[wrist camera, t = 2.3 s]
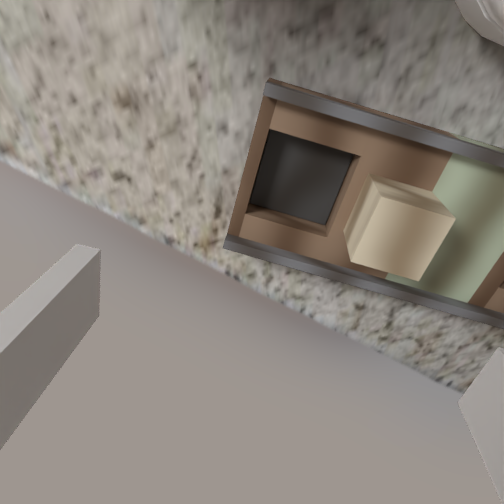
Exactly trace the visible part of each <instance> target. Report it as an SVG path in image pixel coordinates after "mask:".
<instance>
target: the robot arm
mask: <svg viewBox="0 0 504 504" xmlns="http://www.w3.org/2000/svg"><path fill="white" fill-rule="evenodd" d="M100 257H101V250H100V249H96V248H93V247H88V246H84V245H80V244H76V245H75V246H74V247H73V248H72V249H71V250H70V251H68V252H67V253H66V254H65V255H64V256H63V257H62V258H61V259H60V260H58V261H57V262H56V263H55V264H54V265H53V266H52V267H51V268H50V269H48V270H47V271H46V272H45V273H44V274H43V275H42V276H41V277H40V278H39V279H37V281H35V282H34V283H33V284H32V285H31V286H30V287H28V288H27V289H26V290H25V291H24V292H23V293H22V294H21V295H20V296H18V297H17V298H16V299H15V300H14V301H13V302H12V303H11V304H10V305H8V306H7V307H6V308H5V309H4V310H3V311H2V312H1V313H0V450H1V448H2V447H3V446H4V444H5V443H6V442H7V440H8V439H9V438H10V436H11V435H12V434H13V432H14V431H15V429H16V428H17V427H18V425H19V424H20V423H21V421H22V420H23V419H24V417H25V416H26V415H27V413H28V412H29V410H30V409H31V408H32V406H33V405H34V404H35V402H36V401H37V400H38V398H39V397H40V395H41V394H42V393H43V391H44V390H45V389H46V387H47V386H48V385H49V383H50V382H51V381H52V379H53V378H54V376H55V375H56V374H57V372H58V371H59V370H60V368H61V367H62V366H63V364H64V363H65V361H66V360H67V359H68V357H69V356H70V355H71V353H72V352H73V351H74V349H75V348H76V347H77V345H78V344H79V342H80V341H81V340H82V338H83V337H84V336H85V334H86V333H87V331H88V330H89V329H90V327H91V326H92V325H93V323H94V322H95V321H96V319H97V318H98V317H99V302H100V299H99V298H100ZM458 405H459V407H460V410H461V412H462V414H463V416H464V419H465V421H466V423H467V426H468V428H469V430H470V433H471V435H472V437H473V439H474V442H475V444H476V446H477V448H478V451H479V453H480V455H481V457H482V459H483V462H484V464H485V466H486V469H487V471H488V473H489V475H490V478H491V480H492V482H493V484H494V487H495V489H496V491H497V494H498V496H499V498H500V500H501V503H502V504H504V348H500V347H498V348H497V350H496V351H495V352H494V354H493V355H492V356H491V358H490V359H489V361H488V362H487V363H486V365H485V366H484V367H483V369H482V370H481V371H480V373H479V374H478V376H477V377H476V378H475V380H474V381H473V382H472V384H471V385H470V386H469V388H468V389H467V390H466V392H465V393H464V395H463V396H462V397H461V399H460V400H459V401H458Z"/></svg>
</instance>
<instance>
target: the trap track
mask: <svg viewBox="0 0 504 504" xmlns="http://www.w3.org/2000/svg"><path fill="white" fill-rule="evenodd" d="M263 95H264V96H263V100H262V103H261V107H260V111H259V115H258V119H257V122H256V126H255V130H254V134H253V138H252V141H251V145H250V149H249V153H248V157H247V160H246V164H245V168H244V172H243V176H242V180H241V183H240V187H239V191H238V195H237V199H236V202H235V206H234V210H233V214H232V218H231V221H230V225H229V229H228V233H227V236H226V238H225V242H224V245H223V248H224V249H227V250H231V251H234V252H238V253H241V254H245V255H248V256H252V257H255V258H259V259H262V260H266V261H269V262H273V263H276V264H280V265H283V266H286V267H290V268H293V269H297V270H300V271H304V272H307V273H311V274H314V275H318V276H321V277H325V278H328V279H332V280H335V281H339V282H342V283H346V284H349V285H353V286H356V287H360V288H363V289H367V290H370V291H374V292H377V293H380V294H384V295H387V296H391V297H394V298H398V299H401V300H405V301H408V302H412V303H415V304H419V305H422V306H426V307H429V308H433V309H436V310H440V311H443V312H447V313H450V314H454V315H457V316H461V317H464V318H468V319H471V320H475V321H478V322H481V323H485V324H488V325H492V326H495V327H499V328H502V329H504V149H502V148H499V147H495V146H492V145H489V144H485V143H482V142H479V141H476V140H472V139H469V138H466V137H462V136H459V135H456V134H453V133H449V132H446V131H443V130H439V129H436V128H433V127H430V126H426V125H423V124H420V123H416V122H413V121H410V120H407V119H403V118H400V117H397V116H393V115H390V114H387V113H384V112H380V111H377V110H374V109H370V108H367V107H364V106H361V105H357V104H354V103H351V102H347V101H344V100H341V99H338V98H334V97H331V96H328V95H324V94H321V93H318V92H315V91H311V90H308V89H305V88H301V87H298V86H295V85H292V84H288V83H285V82H282V81H278V80H275V79H272V78H269V80H268V81H267V82H266V85H265V89H264V92H263ZM269 129H271V130H270V133H269V137H268V140H267V136H268V132H269ZM266 140H267V144H266V148H265V151H264V155H263V158H262V162H261V165H260V169H259V172H258V176H257V179H256V175H257V171H258V168H259V164H260V161H261V157H262V154H263V150H264V147H265V143H266ZM353 154H354V155H353ZM352 157H353V158H352ZM351 159H352V160H351ZM350 162H351V163H350ZM349 164H350V165H349ZM348 167H349V168H348ZM347 169H348V170H347ZM346 172H347V173H346ZM368 173H371V174H374V175H378V176H381V177H384V178H388V179H391V180H394V181H398V182H401V183H404V184H408V185H411V186H414V187H418V188H421V189H424V190H428V191H431V192H433V193H434V195H435V196H436V197H437V198H438V199H439V200H440V201H441V202H442V204H443V205H444V206H445V207H446V208H447V209H448V210H449V211H450V213H451V214H452V215H453V216H454V217H455V218H456V220H455V221H454V223H453V225H452V227H451V228H450V230H449V232H448V233H447V235H446V237H445V238H444V240H443V242H442V243H441V245H440V247H439V248H438V250H437V252H436V253H435V255H434V257H433V258H432V260H431V262H430V263H429V265H428V267H427V268H426V270H425V272H424V273H423V275H422V277H421V279H420V280H419V281H416V280H412V279H409V278H405V277H402V276H398V275H395V274H391V273H388V272H385V271H381V270H378V269H374V268H371V267H367V266H364V265H360V264H357V263H353V262H351V261H350V257H349V253H348V248H347V244H346V240H345V236H344V231H343V230H344V228H345V226H346V223H347V221H348V219H349V216H350V214H351V212H352V210H353V207H354V205H355V203H356V200H357V198H358V196H359V194H360V191H361V189H362V187H363V184H364V182H365V180H366V177H367V175H368ZM345 174H346V175H345ZM344 176H345V178H344ZM255 179H256V183H255V186H254V182H255ZM343 179H344V180H343ZM342 181H343V183H342ZM341 184H342V185H341ZM253 186H254V190H253V193H252V189H253ZM340 186H341V187H340ZM339 189H340V190H339ZM338 191H339V192H338ZM251 193H252V197H251V200H250V196H251ZM337 194H338V195H337ZM336 196H337V197H336ZM335 199H336V200H335ZM249 200H250V203H249ZM334 201H335V202H334ZM333 204H334V205H333ZM332 206H333V207H332ZM331 209H332V210H331ZM330 211H331V212H330ZM329 213H330V215H329ZM328 216H329V217H328ZM327 218H328V220H327ZM326 221H327V222H326ZM325 223H326V224H325Z"/></svg>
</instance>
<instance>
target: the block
mask: <svg viewBox="0 0 504 504" xmlns="http://www.w3.org/2000/svg"><path fill="white" fill-rule="evenodd" d="M455 220H456V218H455V217H454V216H453V215H452V214H451V213H450V211H449V210H448V209H447V208H446V207H445V206H444V205H443V204H442V202H441V201H440V200H439V199H438V198H437V197H436V196H435V195H434V193H433V192H431V191H428V190H424V189H421V188H418V187H414V186H411V185H408V184H404V183H401V182H398V181H394V180H391V179H388V178H384V177H381V176H378V175H374V174H371V173H368V175H367V177H366V180H365V182H364V184H363V187H362V189H361V191H360V194H359V196H358V198H357V200H356V203H355V205H354V207H353V210H352V212H351V214H350V216H349V219H348V221H347V223H346V226H345V228H344V230H343V231H344V236H345V240H346V244H347V248H348V253H349V257H350V261H351V262H353V263H357V264H360V265H364V266H367V267H371V268H374V269H378V270H381V271H385V272H388V273H391V274H395V275H398V276H402V277H405V278H409V279H412V280H416V281H419V280H420V279H421V277H422V275H423V273H424V272H425V270H426V268H427V267H428V265H429V263H430V262H431V260H432V258H433V257H434V255H435V253H436V252H437V250H438V248H439V247H440V245H441V243H442V242H443V240H444V238H445V237H446V235H447V233H448V232H449V230H450V228H451V227H452V225H453V223H454V221H455Z"/></svg>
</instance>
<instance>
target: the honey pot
mask: <svg viewBox="0 0 504 504" xmlns="http://www.w3.org/2000/svg"><path fill="white" fill-rule="evenodd" d="M455 2H456V4H457V6H458V8H459V10H460V12H461V14H462V16H463V18H464V20H465V21H466V22H467V23H468V24H469V25H470V26H472V27H473V28H474V29H475V30H476V31H477V32H478V33H479V34H480V35H481V36H482V37H484V38H486V39H489V40H491V41H493V42H495V43H497V44H499V45H502V46H504V0H455Z"/></svg>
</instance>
